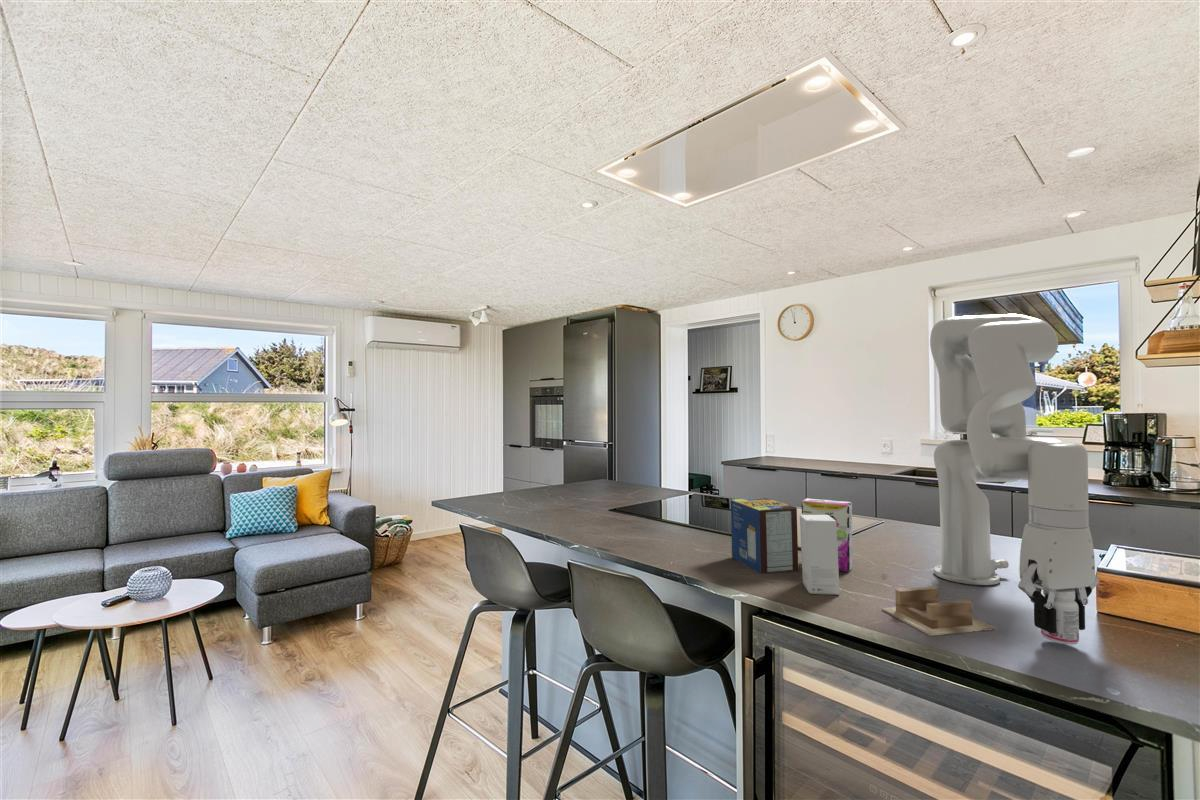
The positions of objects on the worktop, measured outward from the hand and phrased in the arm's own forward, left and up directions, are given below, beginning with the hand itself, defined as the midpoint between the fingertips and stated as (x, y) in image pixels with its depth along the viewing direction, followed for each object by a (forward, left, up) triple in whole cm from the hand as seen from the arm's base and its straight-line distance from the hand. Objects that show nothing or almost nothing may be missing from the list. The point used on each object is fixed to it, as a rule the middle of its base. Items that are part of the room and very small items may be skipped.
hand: (1059, 627), depth 88 cm
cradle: (+11, -13, -3) cm, 18 cm away
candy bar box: (+11, -47, -3) cm, 49 cm away
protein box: (+25, -53, -3) cm, 59 cm away
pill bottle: (0, 0, -2) cm, 2 cm away
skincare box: (+22, -33, -3) cm, 40 cm away
